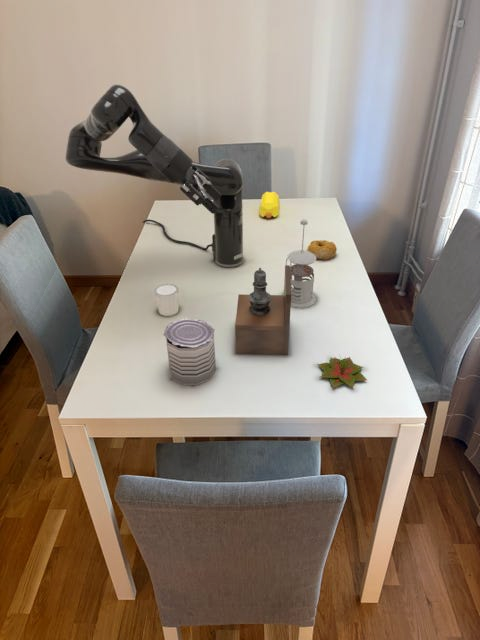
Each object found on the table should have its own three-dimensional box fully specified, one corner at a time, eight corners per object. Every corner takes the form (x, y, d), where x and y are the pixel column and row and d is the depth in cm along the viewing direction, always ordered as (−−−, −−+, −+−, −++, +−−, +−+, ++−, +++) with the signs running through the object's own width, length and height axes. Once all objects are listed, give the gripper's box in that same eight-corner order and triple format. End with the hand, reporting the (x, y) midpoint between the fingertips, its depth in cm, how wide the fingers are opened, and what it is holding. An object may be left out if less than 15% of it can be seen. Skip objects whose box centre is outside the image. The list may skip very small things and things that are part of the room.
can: (172, 355, 123) (168, 316, 116) (217, 355, 123) (215, 316, 116) (165, 385, 114) (160, 345, 107) (214, 386, 113) (212, 345, 106)
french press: (294, 311, 139) (298, 230, 124) (273, 292, 147) (275, 214, 133) (322, 302, 142) (330, 222, 128) (300, 284, 151) (305, 207, 136)
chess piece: (269, 316, 121) (270, 274, 114) (246, 314, 122) (245, 272, 115) (272, 303, 125) (273, 262, 118) (250, 301, 126) (250, 260, 119)
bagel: (334, 247, 171) (336, 234, 168) (336, 262, 162) (338, 249, 159) (306, 246, 172) (307, 234, 169) (307, 261, 163) (308, 248, 160)
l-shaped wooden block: (235, 353, 123) (234, 293, 113) (239, 321, 135) (238, 264, 124) (288, 355, 122) (291, 294, 112) (286, 322, 134) (289, 265, 124)
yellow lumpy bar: (258, 220, 191) (278, 220, 191) (258, 204, 187) (278, 204, 187) (261, 203, 206) (279, 203, 205) (261, 187, 202) (280, 188, 201)
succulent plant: (376, 385, 113) (379, 370, 110) (329, 396, 110) (331, 381, 108) (352, 354, 122) (354, 339, 120) (308, 363, 120) (309, 348, 117)
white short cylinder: (184, 306, 141) (182, 285, 137) (174, 319, 136) (172, 297, 132) (163, 302, 143) (160, 281, 139) (152, 314, 138) (149, 293, 134)
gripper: (164, 161, 126) (210, 203, 132) (153, 179, 114) (204, 225, 120) (183, 140, 123) (229, 184, 129) (173, 156, 111) (225, 205, 117)
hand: (217, 204), depth 124 cm, fingers open, 8 cm apart
